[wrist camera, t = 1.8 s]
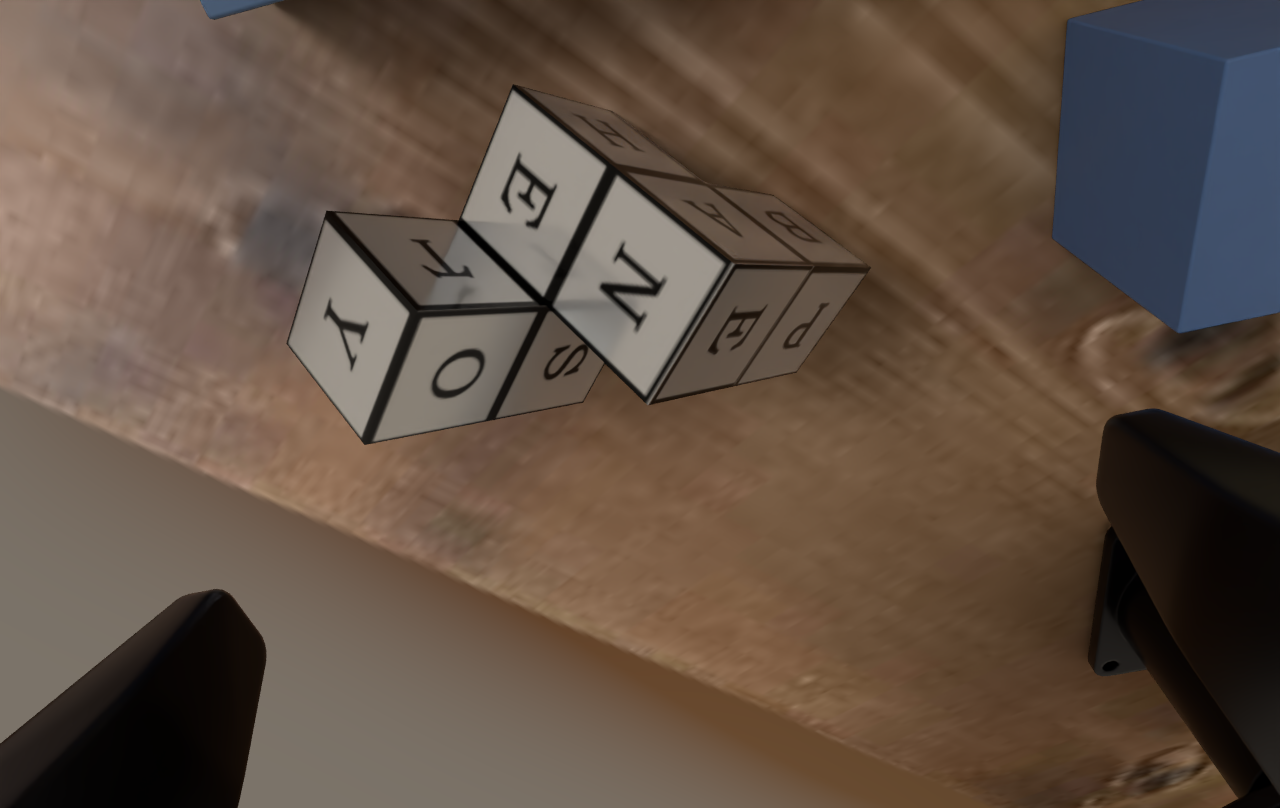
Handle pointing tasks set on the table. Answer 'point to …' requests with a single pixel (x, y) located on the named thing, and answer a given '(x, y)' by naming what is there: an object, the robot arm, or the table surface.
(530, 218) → the building blocks
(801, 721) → the table surface
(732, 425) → the table surface
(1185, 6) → the blue block
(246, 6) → the slate-blue tray
